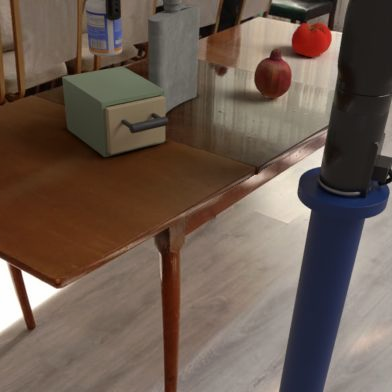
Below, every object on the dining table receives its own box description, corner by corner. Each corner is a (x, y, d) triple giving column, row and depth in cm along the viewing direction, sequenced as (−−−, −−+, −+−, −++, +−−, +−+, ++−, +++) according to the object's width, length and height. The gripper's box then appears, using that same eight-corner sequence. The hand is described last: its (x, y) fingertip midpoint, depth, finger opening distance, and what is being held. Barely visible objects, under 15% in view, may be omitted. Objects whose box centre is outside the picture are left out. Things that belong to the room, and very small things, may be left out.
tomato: (287, 56, 158) (290, 28, 154) (294, 45, 166) (298, 18, 162) (325, 61, 156) (330, 33, 152) (331, 49, 164) (336, 22, 160)
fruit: (272, 89, 140) (278, 41, 133) (296, 100, 135) (303, 51, 129) (244, 95, 136) (248, 46, 130) (268, 107, 132) (273, 57, 125)
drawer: (178, 149, 112) (179, 105, 107) (123, 163, 107) (121, 118, 102) (127, 116, 123) (126, 75, 118) (75, 127, 117) (71, 85, 112)
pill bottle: (114, 45, 104) (111, -22, 98) (128, 54, 100) (125, -14, 94) (83, 49, 102) (78, -19, 95) (96, 58, 98) (91, -12, 92)
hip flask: (159, 117, 125) (159, 6, 112) (142, 113, 126) (140, 3, 113) (199, 95, 136) (203, -9, 122) (183, 91, 137) (185, -13, 124)
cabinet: (164, 142, 116) (164, 89, 110) (104, 157, 110) (101, 102, 104) (124, 116, 125) (122, 66, 119) (67, 129, 119) (61, 76, 113)
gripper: (147, -115, 84) (149, 23, 95) (94, -126, 92) (101, 2, 104) (98, -114, 80) (106, 29, 92) (47, -125, 89) (60, 7, 100)
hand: (103, 14), depth 98 cm, fingers closed on pill bottle, 5 cm apart
